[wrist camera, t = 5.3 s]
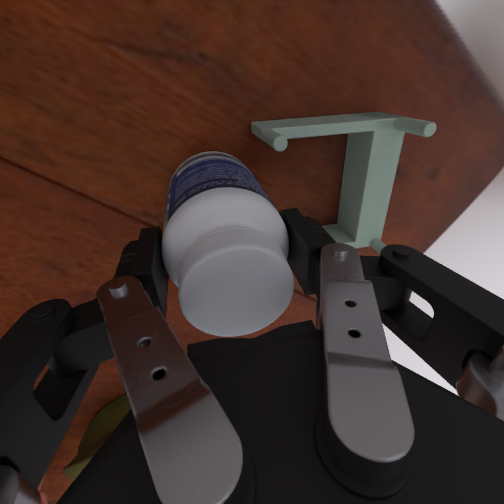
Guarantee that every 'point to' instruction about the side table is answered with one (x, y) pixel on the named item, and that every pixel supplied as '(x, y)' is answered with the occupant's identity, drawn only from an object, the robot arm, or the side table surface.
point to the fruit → (97, 434)
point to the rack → (355, 165)
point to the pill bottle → (225, 247)
